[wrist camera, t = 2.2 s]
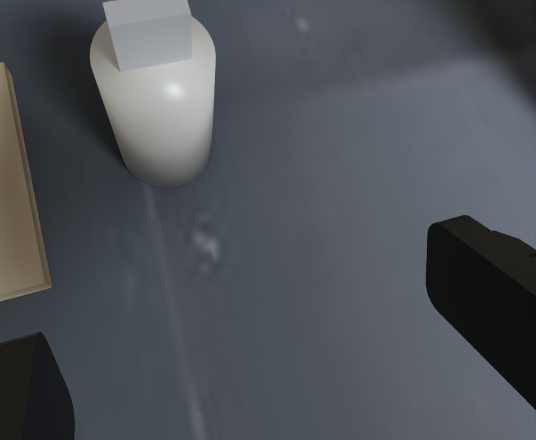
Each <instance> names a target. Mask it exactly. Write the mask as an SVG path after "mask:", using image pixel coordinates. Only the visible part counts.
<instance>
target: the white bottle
mask: <svg viewBox="0 0 536 440" xmlns="http://www.w3.org/2000/svg"><path fill="white" fill-rule="evenodd" d="M103 6H104V10H105V14H106V18H107V20H106V21H105V22H104V23H103V24H102V25H101V26H100V28H99V29H98V31H97V32H96V34H95V36H94V38H93V41H92V44H91V49H90V62H91V67H92V70H93V73H94V76H95V79H96V82H97V85H98V88H99V91H100V94H101V97H102V100H103V103H104V106H105V109H106V112H107V114H108V117H109V120H110V123H111V126H112V129H113V132H114V135H115V138H116V141H117V144H118V147H119V150H120V153H121V155H122V158H123V161H124V163H125V165H126V167H127V168H128V170H129V171H130V172H131V173H132V174H133V175H134V176H135V177H136V178H137V179H139V180H140V181H142V182H144V183H146V184H149V185H152V186H156V187H163V188H169V187H177V186H180V185H184V184H186V183H188V182H190V181H192V180H193V179H195V178H196V177H197V176H199V175H200V174H201V172H202V171H203V170H204V169H205V167H206V166H207V164H208V162H209V159H210V155H211V148H212V126H213V104H214V82H215V60H216V56H215V48H214V44H213V42H212V39H211V37H210V35H209V34H208V32H207V30H206V29H205V28H204V27H203V25H202V24H201V23H200V22H199V21H197V20H196V19H195V18H194V17H192V16H191V12H190V9H189V5H188V2H187V0H117V1H110V2H104V3H103Z"/></svg>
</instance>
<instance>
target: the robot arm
mask: <svg viewBox="0 0 536 440" xmlns="http://www.w3.org/2000/svg"><path fill="white" fill-rule="evenodd" d="M426 289H427V293H428V296H429V298H430V301H431V303H432V304H433V306H434V307H435V309H436V310H437V311H438V312H439V313H440V314H441V315H442V316H443V317H444V318H445V319H446V320H447V321H448V322H449V323H450V324H451V325H452V326H453V327H454V328H455V329H456V330H457V331H458V332H459V333H460V334H461V335H462V336H463V337H464V338H465V339H466V340H467V341H468V342H469V343H470V344H471V345H472V346H473V347H474V348H475V349H476V350H477V351H478V352H479V353H480V354H481V355H482V356H483V357H484V358H485V359H486V360H487V361H488V362H489V363H490V364H491V365H492V366H493V367H494V368H495V369H496V370H497V371H498V372H499V373H500V375H501V376H502V377H503V378H504V379H505V380H506V381H507V382H508V383H509V384H510V385H511V386H512V387H513V388H514V389H515V390H516V391H517V392H518V393H519V394H520V395H521V396H522V397H523V398H524V399H525V400H526V401H527V402H528V403H529V404H530V405H531V406H532V407H533V408H534V409H535V410H536V250H535V249H534V248H532V247H531V246H529V245H528V244H526V243H525V242H523V241H521V240H520V239H517V238H515V237H512V236H509V235H506V234H503V233H500V232H497V231H491V230H489V229H488V228H486V227H485V226H483V225H482V224H480V223H479V222H478V221H476V220H475V219H473V218H472V217H470V216H467V215H462V216H459V217H455V218H451V219H448V220H444V221H441V222H437V223H434V224H432V225H431V226H430V227H429V229H428V235H427V262H426ZM74 435H75V417H74V410H73V404H72V400H71V396H70V393H69V391H68V388H67V386H66V383H65V381H64V379H63V376H62V374H61V372H60V370H59V367H58V365H57V363H56V360H55V358H54V356H53V353H52V351H51V349H50V346H49V344H48V342H47V340H46V338H45V336H44V335H43V334H42V333H41V332H38V333H34V334H31V335H27V336H24V337H20V338H16V339H13V340H9V341H6V342H2V343H0V440H74Z"/></svg>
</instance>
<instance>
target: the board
mask: <svg viewBox="0 0 536 440" xmlns="http://www.w3.org/2000/svg"><path fill="white" fill-rule="evenodd" d="M49 288H52V285H51V280H50V274H49V269H48V264H47V259H46V253H45V248H44V243H43V238H42V232H41V227H40V222H39V217H38V211H37V206H36V201H35V196H34V190H33V185H32V180H31V175H30V170H29V164H28V159H27V154H26V149H25V143H24V138H23V133H22V128H21V122H20V117H19V112H18V107H17V101H16V96H15V91H14V86H13V80H12V75H11V74H10V72H9V70H8V69H7V67H6V65H5V64H4V62H1V63H0V301H3V300H7V299H11V298H15V297H18V296H22V295H26V294H30V293H34V292H38V291H41V290H45V289H49Z"/></svg>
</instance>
